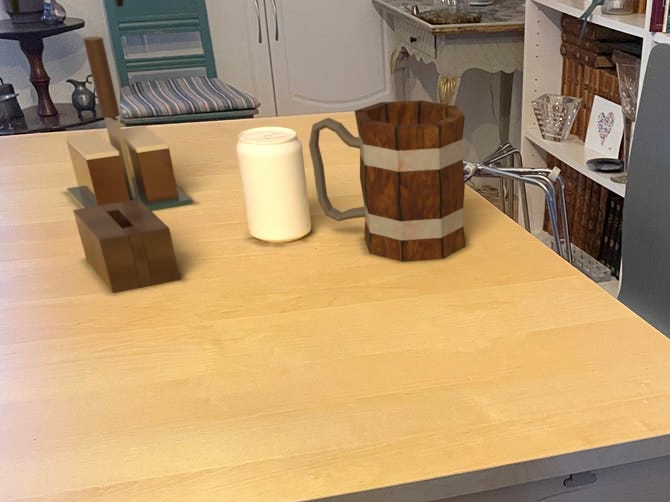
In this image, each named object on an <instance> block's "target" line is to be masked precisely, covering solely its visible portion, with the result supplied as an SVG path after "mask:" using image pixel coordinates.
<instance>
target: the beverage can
mask: <svg viewBox="0 0 670 502" xmlns="http://www.w3.org/2000/svg"><path fill="white" fill-rule="evenodd" d="M237 136H238V137H237V138H238V141H237V143H236V146H235V150H236V151H235V152H236V157H237V163H238V170H239V174H240V175H239V177H240V182H241V183H240V184H241V190H242V195H243V203H244V208H245V215H246V223H247V229H248V232H249V235H251V236H252V237H254V239H255V238H256V239H258V240H260V241H263V242H266V243H273V244H274V243H276V244H279V243H280V244H281V243H283V244H284V243H290V242H294V241H297V240H300V239H301V238H303V237H304V236H307V234H309V233H310V232H311V230H312V223H311V215H310V206H309V196H308V189H307V180H306V179H307V178H306V169H305V161H304V151H303V143H302V142H301V140H300V139H299V138H298V133H297V131H295V130H294V129H291V128H287V127H282V126H261V127H254V128H249V129H245V130H243V131H241V132H239V133H238V135H237Z"/></svg>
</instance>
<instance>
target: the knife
mask: <svg viewBox="0 0 670 502" xmlns="http://www.w3.org/2000/svg"><path fill="white" fill-rule="evenodd" d="M83 44H84V48H85V51H86V52H85V53H86V56H87V60H88V64H89V69H90V73H91V78H92V82H93V87H94V91H95V94H96V99H97V103H98V106H99V107H98V108H99V111H100V116H101V117H102V118H103V119H104V122H105V126H106V131H107V134H108V141H109V143H110V144H111V145H112V146H113V147H114V148H116V149H117V150H118V151H119V156H120V160H121V164H122V169H123V173H124V177H125V182H126V186H127V190H128V195H129V196H130V197H131V198H132V199H137V197H136V193H135V189H134V184H133V180H132V175H131V171H130V167H129V162H128V158H127V153H126V149H125V144H124V140H123V136H122V131H121V129H122V127H121V122H120V120H119V119H118V118H117V117H119V116H121V113H120V109H119V105H118V100H117V96H116V91H115V86H114V82H113V77H112V73H111V69H110V65H109V60H108V55H107V52H106V47H105V43H104V38H103V37H102V36H86V37H83Z"/></svg>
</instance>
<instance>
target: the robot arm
mask: <svg viewBox="0 0 670 502" xmlns="http://www.w3.org/2000/svg"><path fill="white" fill-rule="evenodd" d="M7 2H8V3H9V6H10V8H11V11H12V13H13V15H17V16H18V15H20V14H21V12H20V11H21V10H20V3H19V0H8V1H7ZM114 2H115V4H116V7H117V8H119V7H124V0H114Z"/></svg>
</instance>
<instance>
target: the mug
mask: <svg viewBox="0 0 670 502" xmlns="http://www.w3.org/2000/svg"><path fill="white" fill-rule="evenodd" d="M354 115H355V122H356V127H357V133H358V136H354V135H353V134H352V133H351V132H350V131H349V130H348V129H347V127H345V125H344V124H342V122H339V121H337V120H335V119H333V118H330V117H326V118H324V119H321V120H319V121H318V122H315V123H313V124H312V127H311V131H310V135H309V136H310V137H309V142H308V148H309V153H310V157H311V162H312V167H313V174H314V175H313V176H314V182H315V183H314V184H315V189H316V196H317V201H318V204H319V205H320V207H321V209H322V211H323V213H324V215H325V216H326V217H328V218H330V219H333V220H334V221H336V222H343V221H346V220H352V219H360V218H364V238H363V239H364V242H365V245H366V247H367V250H368V253H369V254H371V255H375V256H380V257H383V258H387V259H391V260H394V261H399V262H412V261H414V262H416V261H427V260H428V261H429V260H441V259H445V258H446V257H449V256H451V255H452V254H455V253H456V252H458V251H460V250H462V249H463V248H465V247H466V238H465V237H466V236H465V228H464V204H465V203H464V201H465V190H466V189H465V188H466V181H465V171H464V169H465V168H464V159H463V158H464V156H463V154H464V152H463V148H464V147H463V143H464V142H463V140H464V139H463V138H464V130H465V129H464V128H465V127H464V126H465V119H466V116H465V114H464V113H463V112H462V110H460V109H459V107H458V106H457V105H452V104H446V103H440V102H434V101H427V100H400V101H381V102H377V103H374V104H371V105H368V106H365V107H361V108H359V109H355V110H354ZM324 129H327V130H330V131H332V132H333V133H335V134H336V135H337V137H338V138H339V139H340V140H341V141H342V142H343V143H344V144H345V145H346V146H347V147H350V148H354V149H359V181H360V187H361V193H362V199H363V206H361V207H352V208H348V209H346V210H342V211H341V210H338V209H336V208H334V207H333V206H332V204H331V201H330V199H329V197H328V192H327V184H326V176H325V165H324V161H323V158H322V157H323V156H322V154H321V153H322V152H321V149H320V145H319V144H320V133H321V131H322V130H324Z"/></svg>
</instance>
